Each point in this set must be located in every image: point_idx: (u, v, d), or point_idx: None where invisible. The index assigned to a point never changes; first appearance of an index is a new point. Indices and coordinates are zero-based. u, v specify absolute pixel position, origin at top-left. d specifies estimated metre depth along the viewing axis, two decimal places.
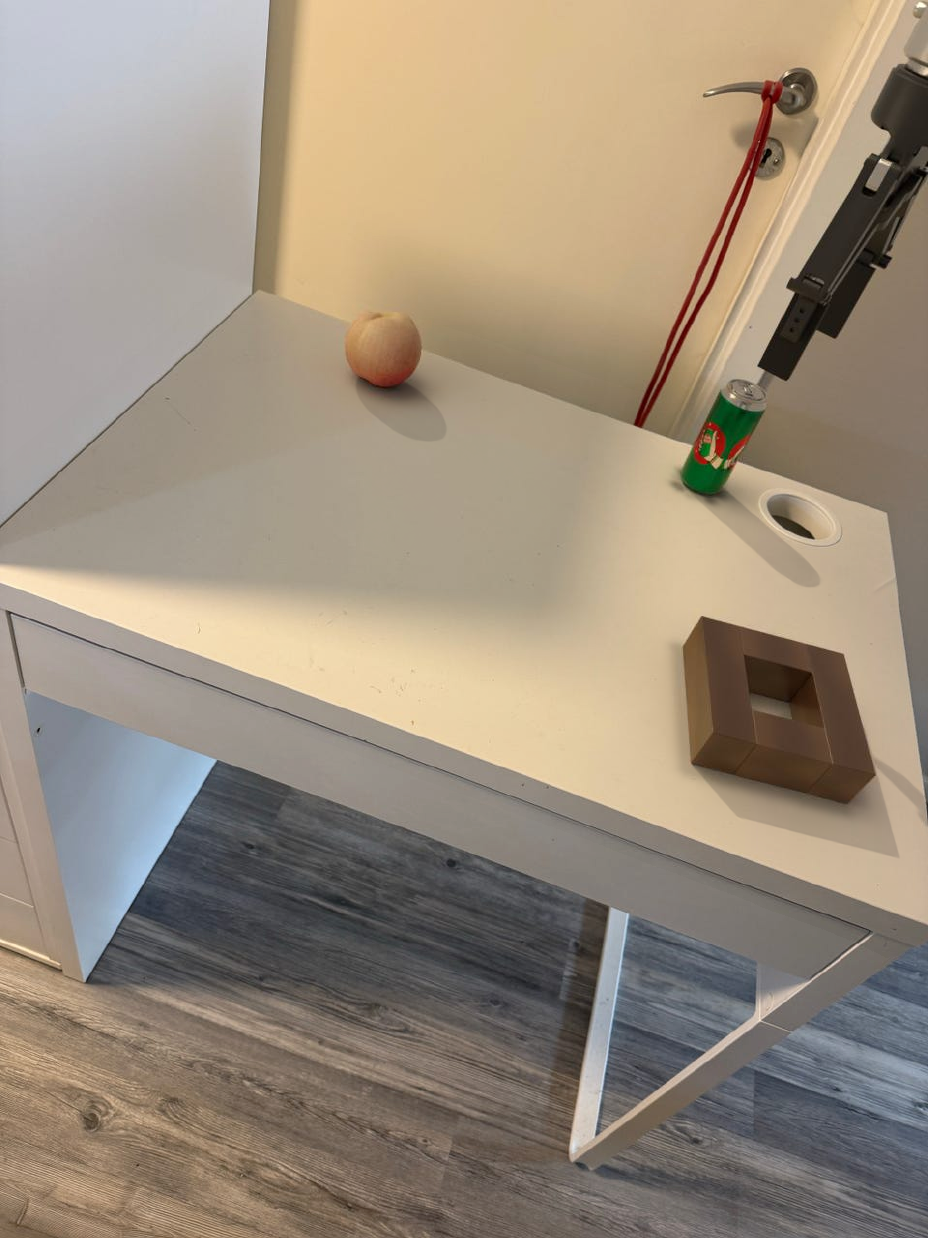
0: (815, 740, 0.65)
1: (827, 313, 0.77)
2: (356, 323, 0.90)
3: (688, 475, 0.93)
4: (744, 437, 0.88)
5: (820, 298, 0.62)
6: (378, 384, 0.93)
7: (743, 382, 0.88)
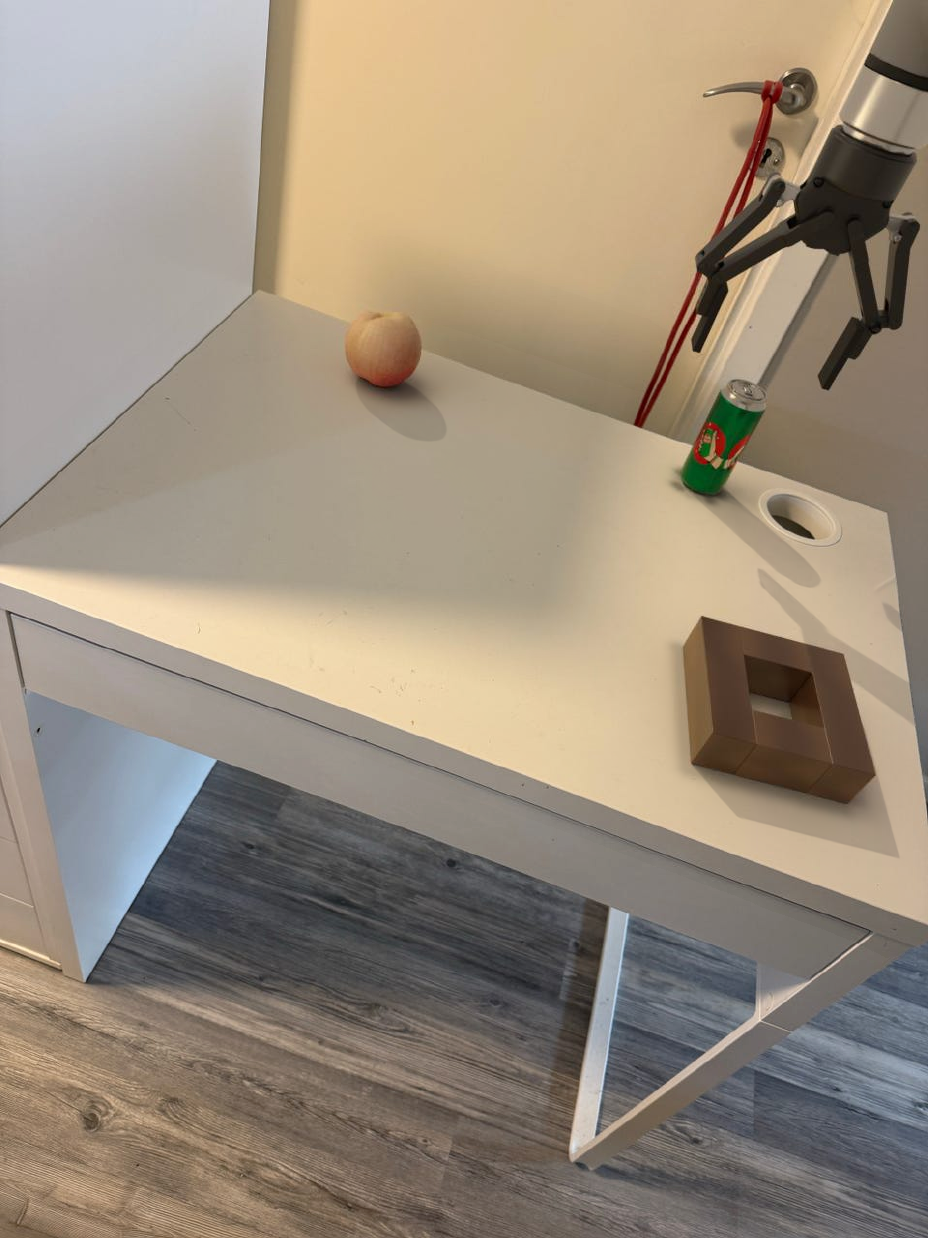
0: (815, 740, 0.65)
1: (827, 365, 0.85)
2: (356, 323, 0.90)
3: (688, 475, 0.93)
4: (744, 437, 0.88)
5: (696, 266, 0.79)
6: (378, 384, 0.93)
7: (743, 382, 0.88)
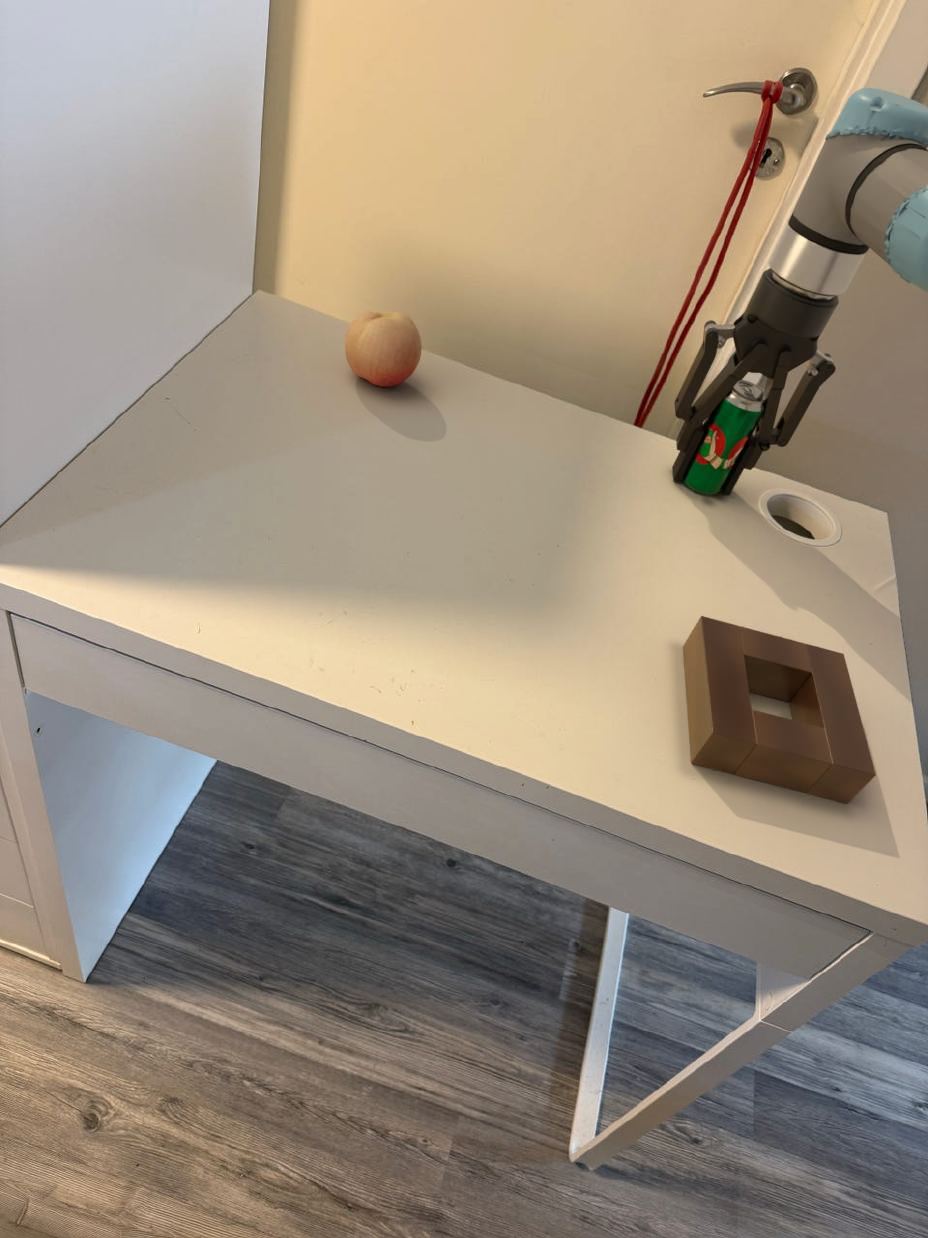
0: (815, 740, 0.65)
1: None
2: (356, 323, 0.90)
3: (688, 475, 0.93)
4: (743, 437, 0.88)
5: None
6: (378, 384, 0.93)
7: (743, 382, 0.88)
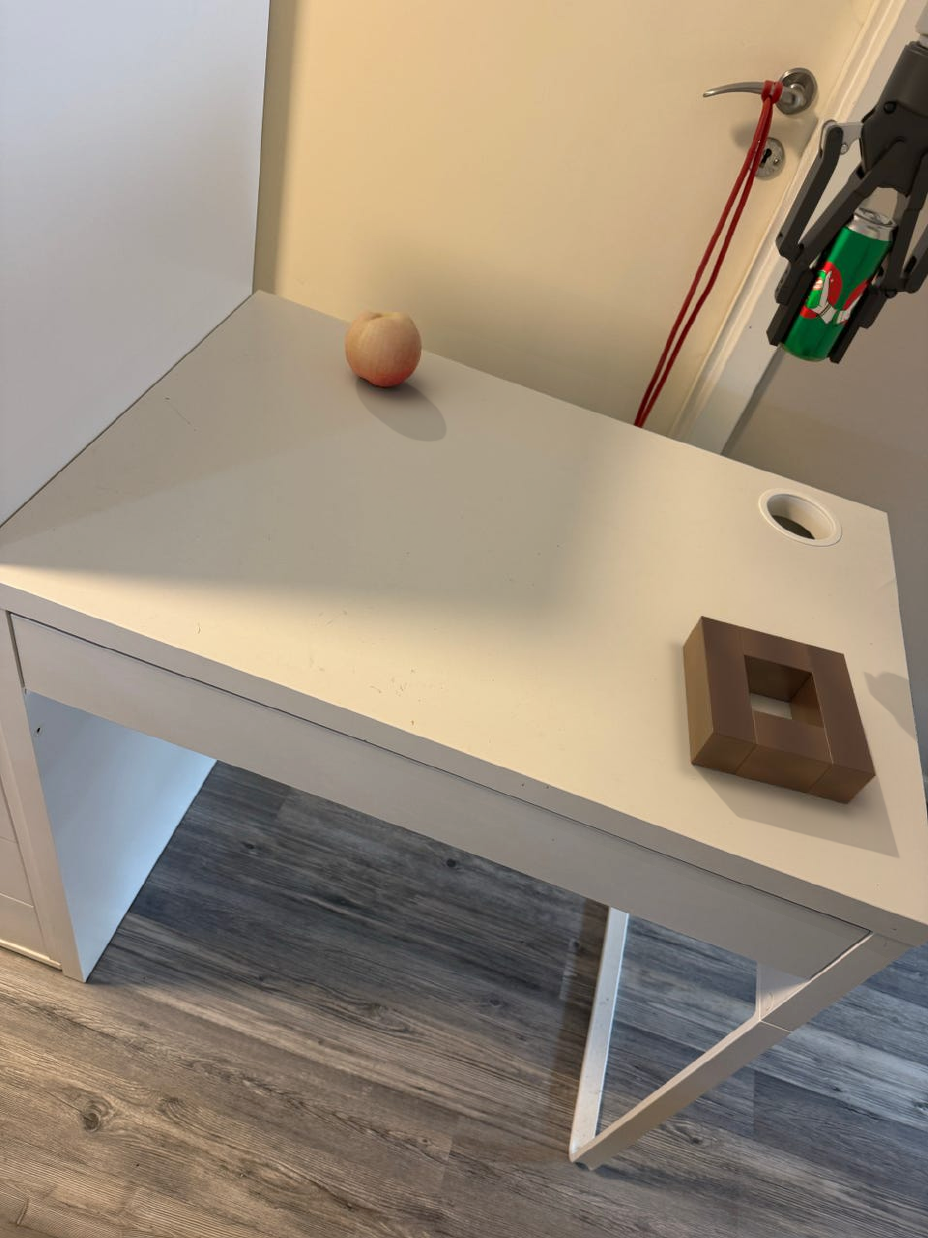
0: (815, 740, 0.65)
1: None
2: (356, 323, 0.90)
3: (789, 336, 0.75)
4: (865, 278, 0.70)
5: (779, 252, 0.71)
6: (378, 384, 0.93)
7: (864, 209, 0.70)
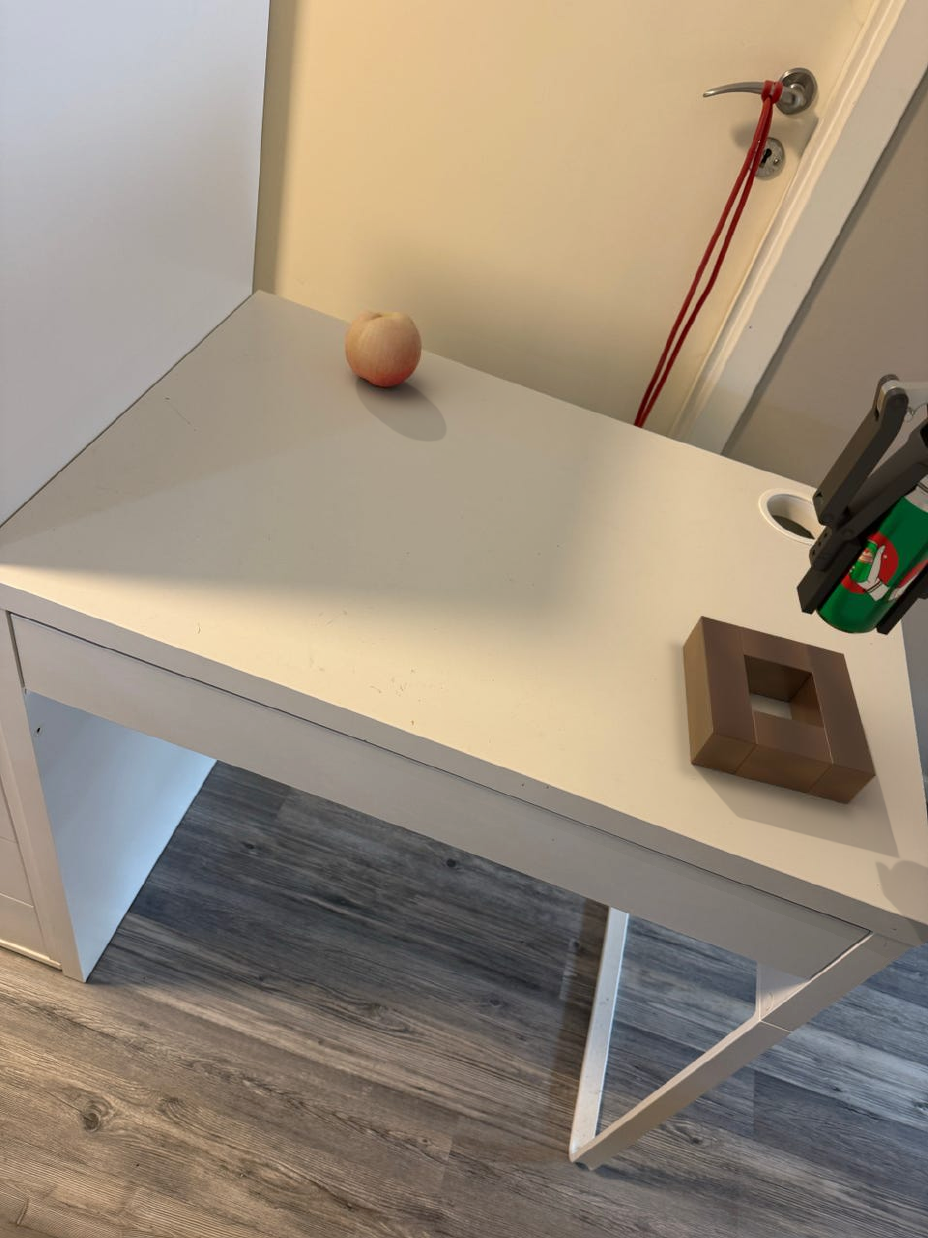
0: (815, 740, 0.65)
1: None
2: (356, 323, 0.90)
3: (827, 606, 0.60)
4: None
5: None
6: (378, 384, 0.93)
7: None
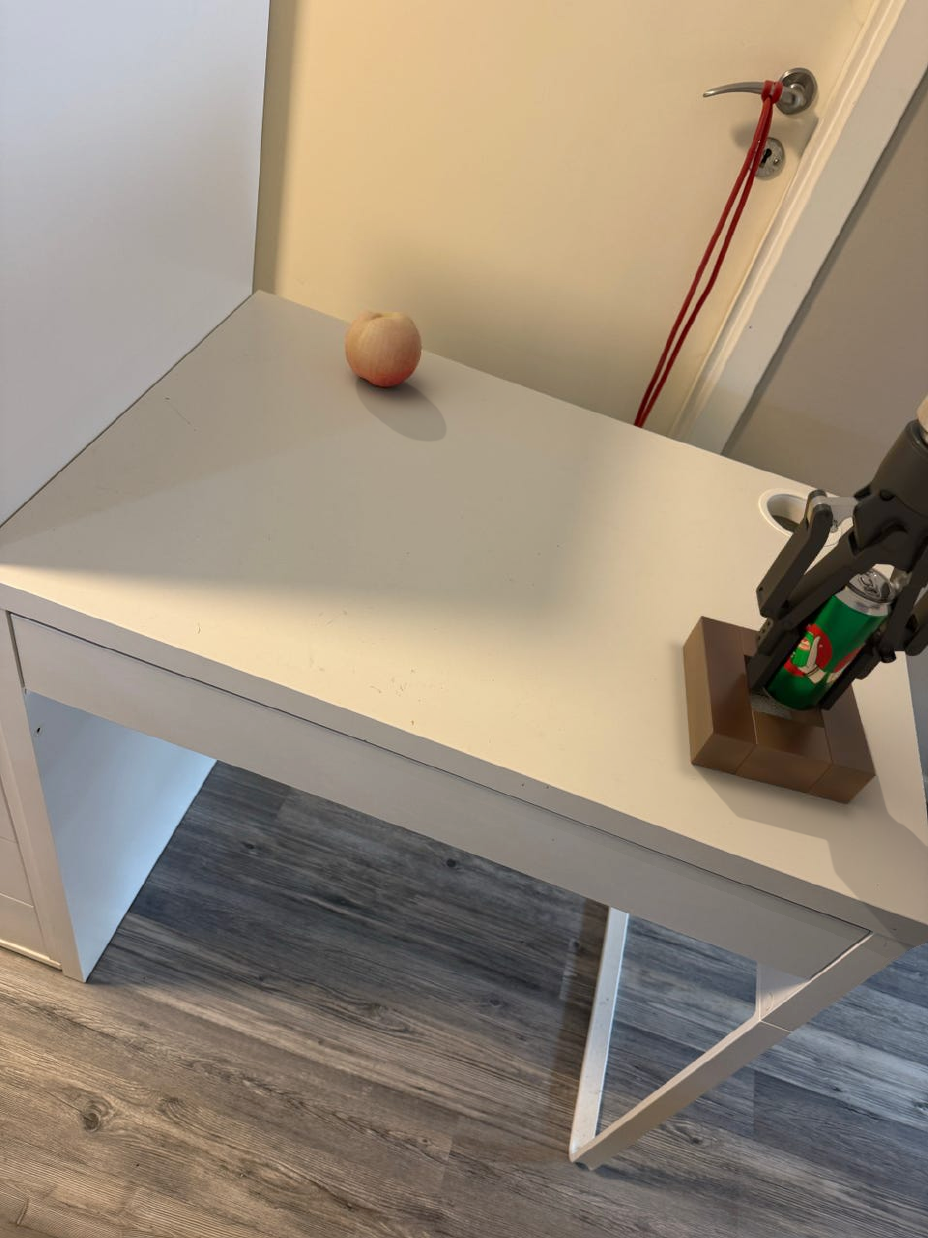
0: (815, 740, 0.65)
1: None
2: (356, 323, 0.90)
3: (773, 686, 0.66)
4: (859, 646, 0.61)
5: None
6: (378, 384, 0.93)
7: None
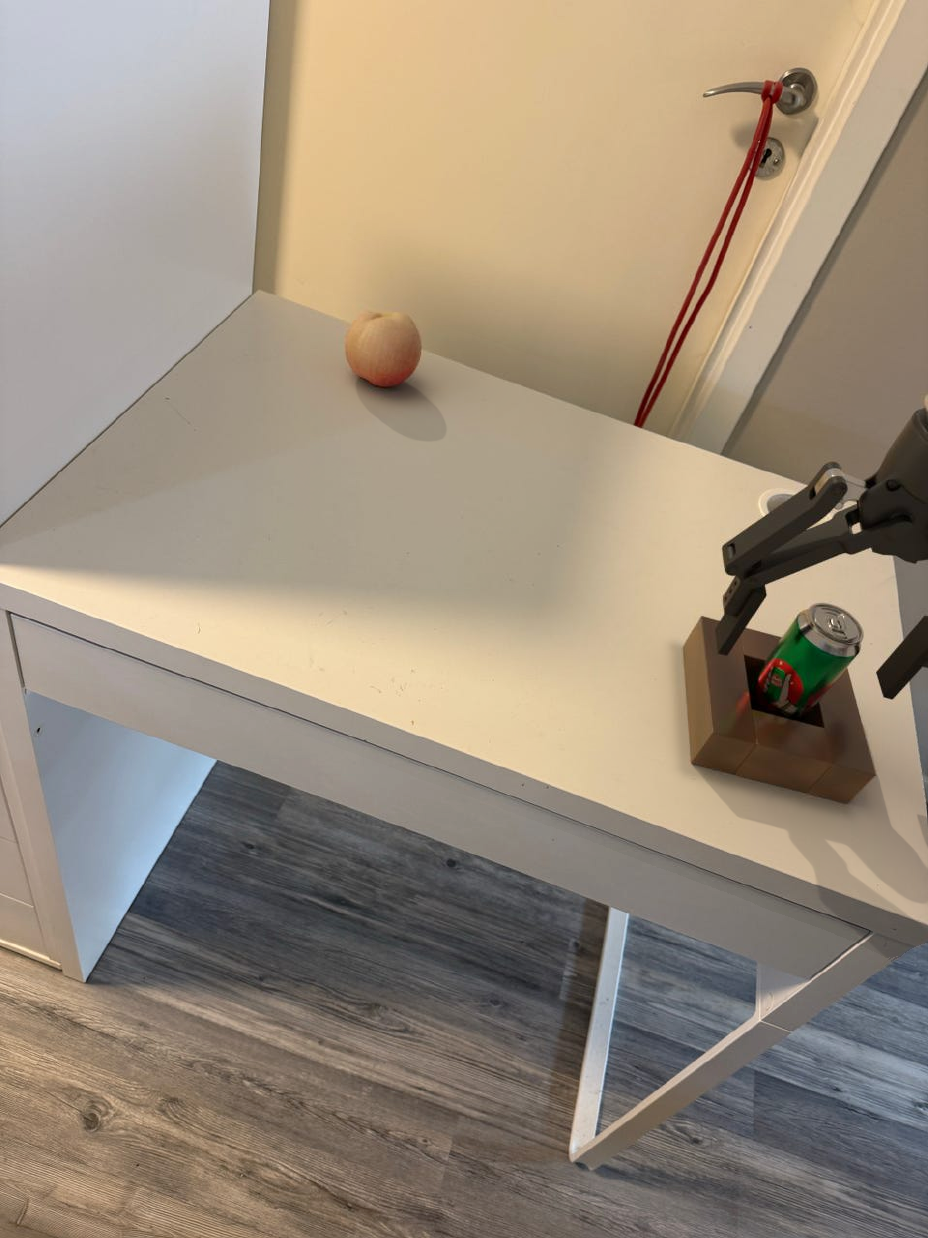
0: (815, 740, 0.65)
1: (890, 667, 0.65)
2: (356, 323, 0.90)
3: None
4: (828, 684, 0.64)
5: (724, 567, 0.59)
6: (378, 384, 0.93)
7: (828, 608, 0.64)
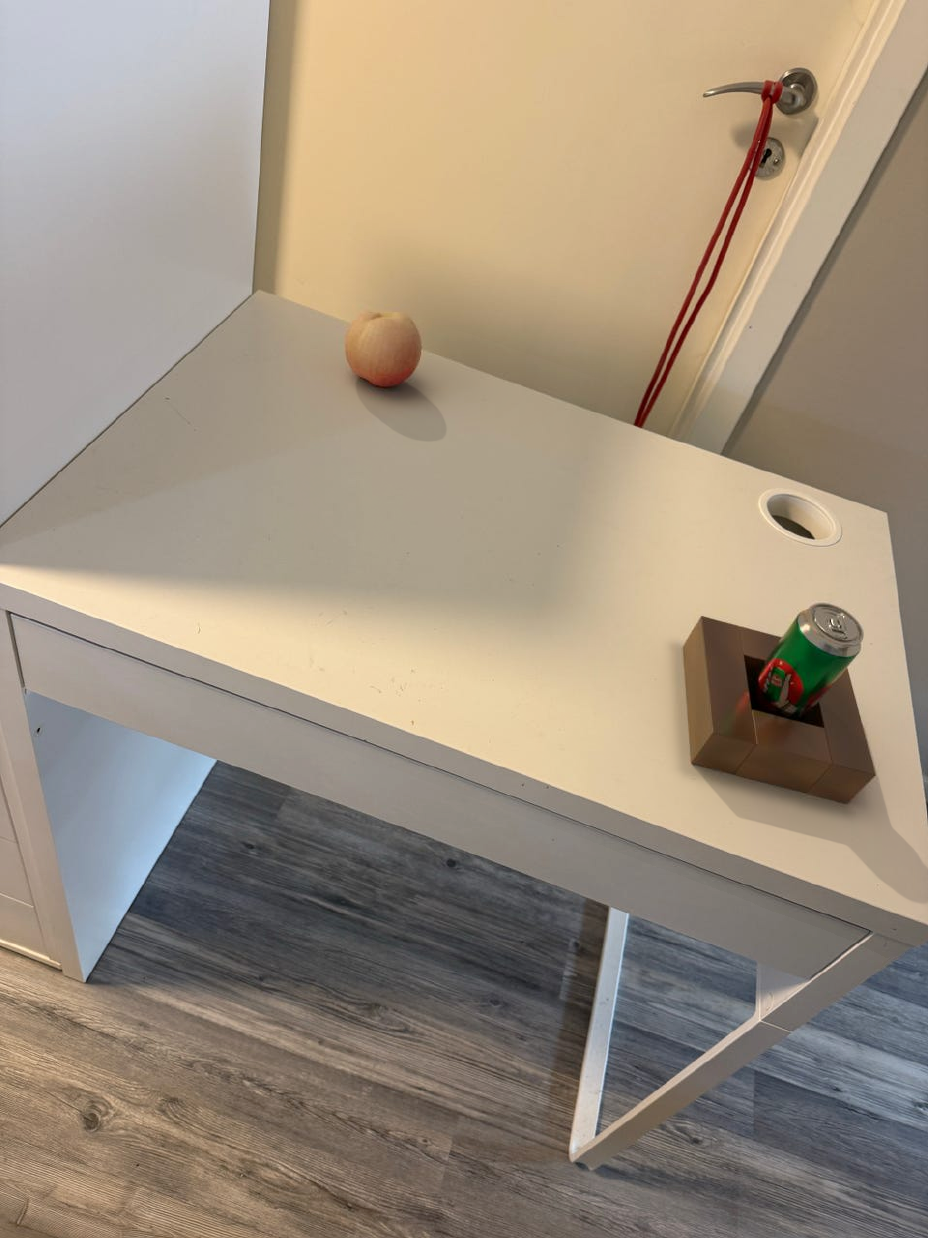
0: (815, 740, 0.65)
1: None
2: (356, 323, 0.90)
3: None
4: (829, 684, 0.64)
5: None
6: (378, 384, 0.93)
7: (828, 608, 0.64)
